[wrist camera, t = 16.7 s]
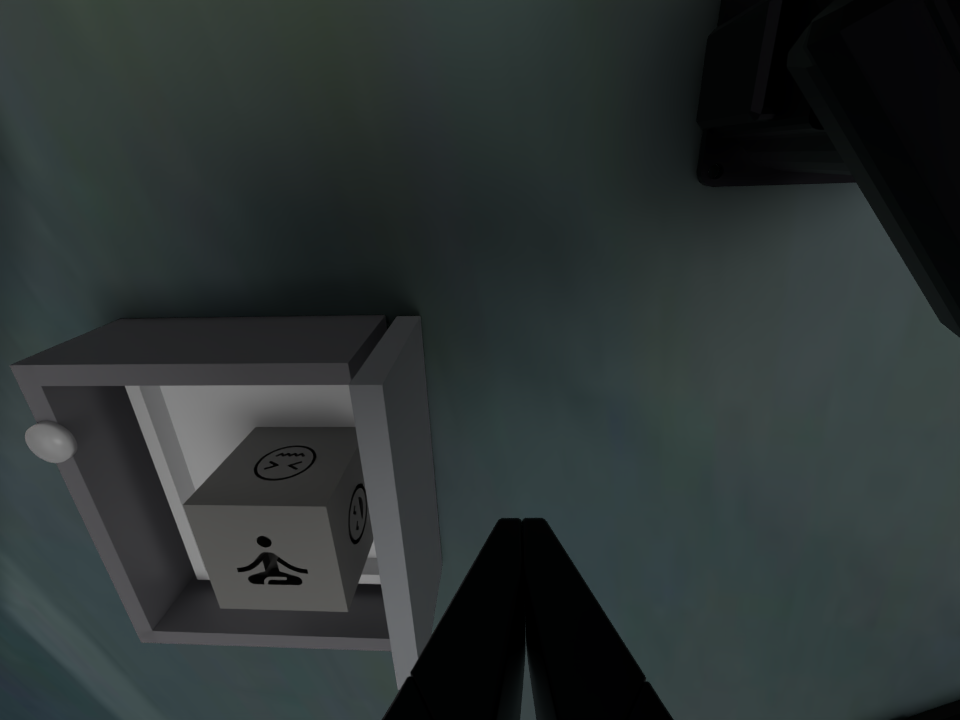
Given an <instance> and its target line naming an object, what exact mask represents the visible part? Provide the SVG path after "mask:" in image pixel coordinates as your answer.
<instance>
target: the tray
mask: <svg viewBox="0 0 960 720" xmlns="http://www.w3.org/2000/svg"><path fill="white" fill-rule="evenodd" d="M125 388H126V391H127V393H128V396H129V399H130V401H131V404H132V407H133V409H134V412H135V415H136V417H137V420H138V423H139V425H140V428H141V431H142V433H143V436H144V439H145V441H146V444H147V447H148V449H149V452H150V455H151V457H152V460H153V463H154V465H155V468H156V471H157V473H158V476H159V479H160V481H161V484H162V487H163V489H164V492H165V495H166V497H167V500H168V503H169V505H170V508H171V511H172V513H173V516H174V519H175V521H176V524H177V527H178V529H179V532H180V535H181V537H182V540H183V543H184V545H185V548H186V551H187V553H188V556H189V559H190V561H191V564H192V567H193V569H194V572H195V575H196V577H197V580H210V579H209V576H208V573H207V570H206V568H205V565H204V562H203V559H202V557H201V554H200V551H199V548H198V546H197V543H196V540H195V537H194V535H193V532H192V529H191V526H190V524H189V521H188V518H187V515H186V513H185V510H184V507H183V504H184V503H185V502H186V501H187V500H188V499H189V498H190V497H191V495H192V494H193V493H194V492H195V491H196V490H197V489H198V488H199V487H200V486H201V485H202V484H203V483H204V482H205V480H206V479H207V478H208V477H209V476H210V475H211V474H212V473H213V472H214V471H215V470H216V469H217V468H218V467H219V466H220V464H221V463H222V462H223V461H224V460H225V459H226V458H227V457H228V456H229V455H230V454H231V453H232V452H233V451H234V449H235V448H236V447H237V446H238V445H239V444H240V443H241V442H242V441H243V440H244V439H245V438H246V437H247V436H248V435H249V433H250V432H251V431H252V430H253V429H254V428H255V427H356V433H357V440H358V446H359V452H360V458H361V464H362V471H363V477H364V483H365V489H366V495H367V501H368V508H369V514H370V520H371V526H372V532H373V539H374V540H373V543H372V546H371V549H370V552H369V554H368V557H367V560H366V563H365V566H364V569H363V571H362V574H361V577H360V580H359V583H358V584H381V588H382V594H383V600H384V607H385V613H386V619H387V625H388V631H389V637H390V644H391V650H392V656H393V662H394V668H395V675H396V681H397V687H398V689H401V687H402V685H403V683H404V682H405V680H406V678H407V677H408V676H411V675H410V672H411V670H412V668H413V667H414V665H415V663H416V661H417V660H418V658H419V656H420V654H421V653H422V651H423V649H424V648H425V646H426V644H427V642H428V641H429V639H430V637H431V632H432V626H433V620H434V614H435V607H436V601H437V595H438V589H439V583H440V577H441V571H442V555H441V544H440V532H439V521H438V509H437V498H436V487H435V475H434V464H433V452H432V441H431V429H430V418H429V407H428V395H427V384H426V372H425V361H424V350H423V338H422V327H421V316H397V317H396V318H395V320H394V321H393V322H392V324H391V325H390V327H389V328H388V330H387V331H386V332H385V334H384V335H383V337H382V338H381V340H380V341H379V342H378V344H377V345H376V347H375V348H374V350H373V351H372V352H371V354H370V355H369V357H368V358H367V360H366V361H365V362H364V364H363V365H362V367H361V368H360V370H359V371H358V372H357V374H356V375H355V377H354V378H353V379H352V381H351V382H350V384H349V385H206V386H125Z"/></svg>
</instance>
